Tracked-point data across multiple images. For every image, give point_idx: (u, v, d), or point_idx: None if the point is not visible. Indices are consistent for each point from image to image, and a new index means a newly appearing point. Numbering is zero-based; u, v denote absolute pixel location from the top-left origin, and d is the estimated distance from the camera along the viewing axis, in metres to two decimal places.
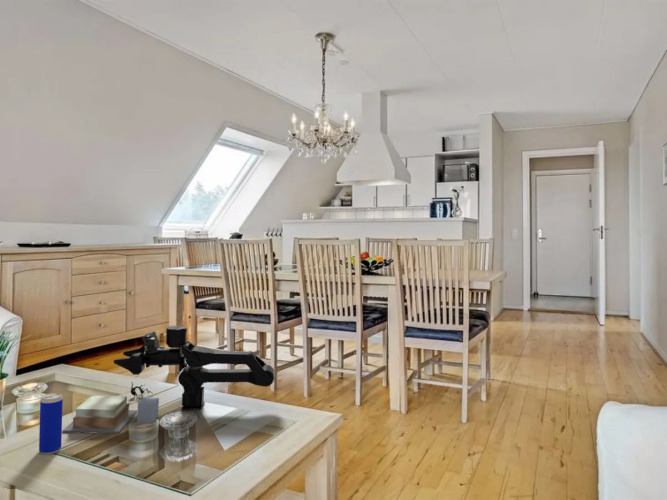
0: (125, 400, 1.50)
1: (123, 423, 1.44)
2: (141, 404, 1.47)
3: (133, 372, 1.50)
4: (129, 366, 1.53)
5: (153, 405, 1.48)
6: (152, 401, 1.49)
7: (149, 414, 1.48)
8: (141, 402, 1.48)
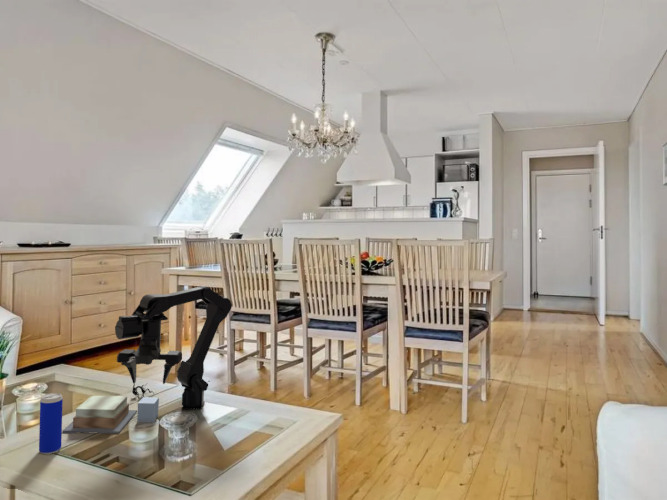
0: (125, 400, 1.50)
1: (123, 423, 1.44)
2: (141, 404, 1.47)
3: (181, 358, 1.52)
4: (170, 365, 1.51)
5: (153, 405, 1.48)
6: (152, 401, 1.49)
7: (149, 414, 1.48)
8: (141, 402, 1.48)
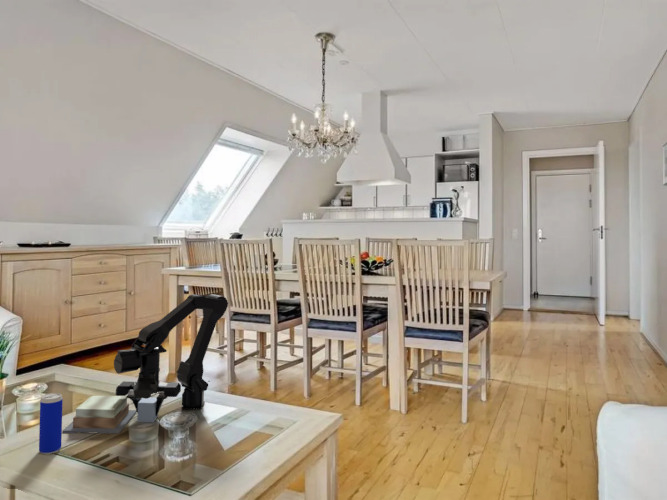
0: (125, 400, 1.50)
1: (123, 423, 1.44)
2: (141, 403, 1.47)
3: (180, 390, 1.53)
4: None
5: (153, 405, 1.48)
6: (153, 400, 1.49)
7: (149, 413, 1.48)
8: (141, 402, 1.48)
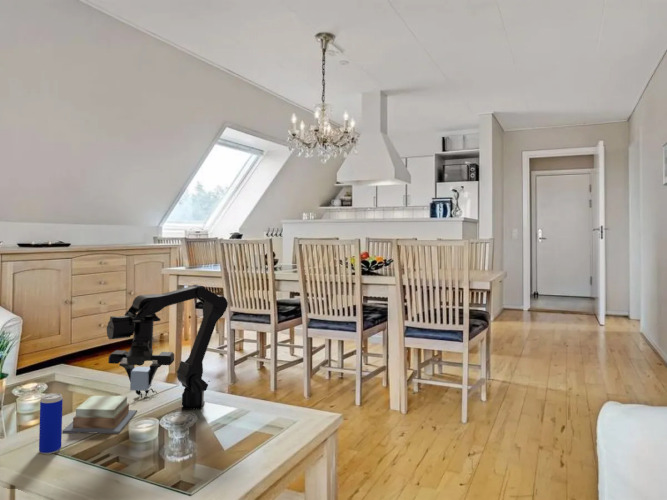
0: (125, 400, 1.50)
1: (123, 423, 1.44)
2: (134, 372, 1.46)
3: None
4: (156, 366, 1.50)
5: (146, 373, 1.46)
6: (146, 369, 1.48)
7: (142, 382, 1.46)
8: (134, 370, 1.46)
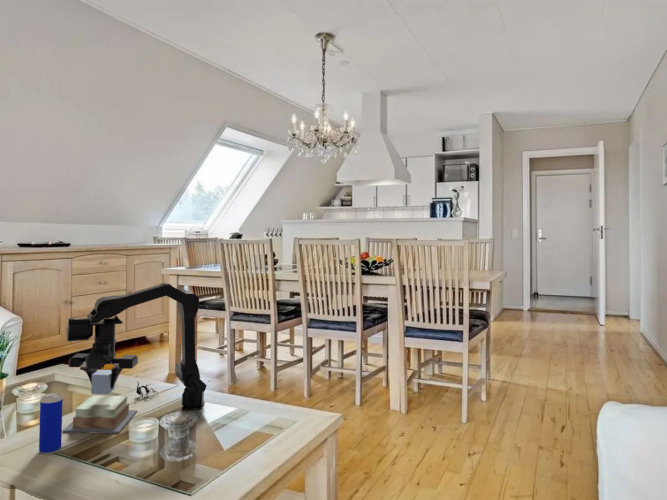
0: (125, 400, 1.50)
1: (123, 423, 1.44)
2: (95, 375, 1.43)
3: (137, 362, 1.48)
4: None
5: (108, 377, 1.43)
6: (108, 373, 1.45)
7: (104, 386, 1.43)
8: (95, 374, 1.43)
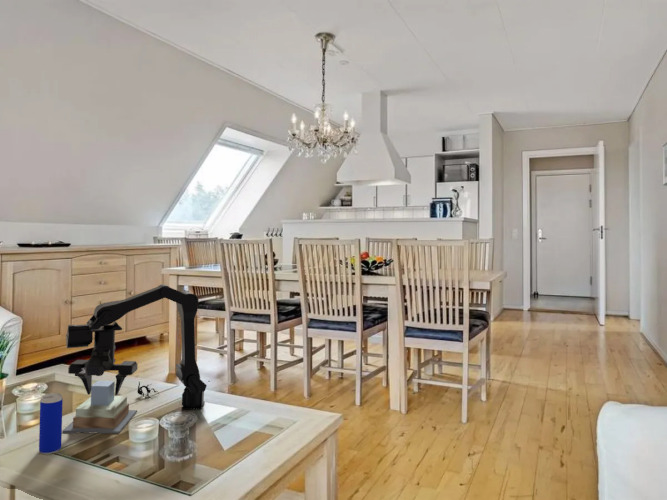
0: (125, 400, 1.50)
1: (123, 423, 1.44)
2: (94, 387, 1.43)
3: None
4: None
5: (107, 388, 1.43)
6: (107, 384, 1.45)
7: (103, 397, 1.43)
8: (95, 385, 1.43)
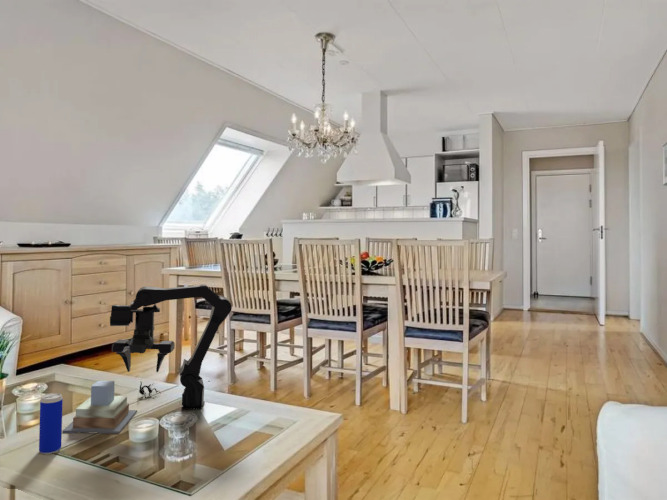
0: (125, 400, 1.50)
1: (123, 423, 1.44)
2: (94, 387, 1.43)
3: (174, 347, 1.59)
4: (163, 355, 1.57)
5: (107, 388, 1.43)
6: (107, 384, 1.45)
7: (103, 397, 1.43)
8: (95, 385, 1.43)
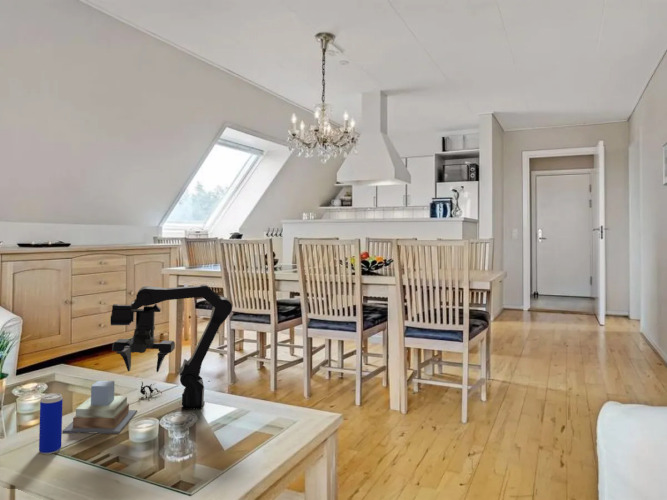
0: (125, 400, 1.50)
1: (123, 423, 1.44)
2: (94, 387, 1.43)
3: (174, 347, 1.59)
4: (163, 354, 1.58)
5: (107, 388, 1.43)
6: (107, 384, 1.45)
7: (103, 397, 1.43)
8: (95, 385, 1.43)
